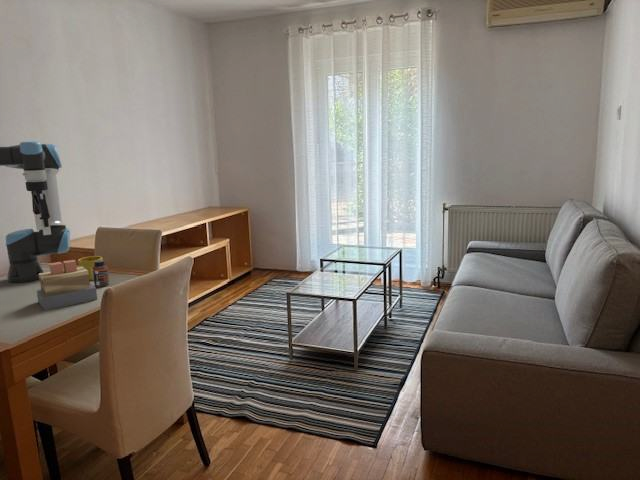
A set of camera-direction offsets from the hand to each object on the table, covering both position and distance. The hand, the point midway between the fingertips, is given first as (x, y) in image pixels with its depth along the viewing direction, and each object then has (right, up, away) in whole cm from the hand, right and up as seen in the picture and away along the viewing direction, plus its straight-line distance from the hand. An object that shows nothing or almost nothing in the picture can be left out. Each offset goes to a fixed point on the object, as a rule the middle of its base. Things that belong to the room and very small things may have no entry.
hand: (43, 232), depth 196 cm
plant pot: (+7, -22, +29) cm, 37 cm away
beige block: (+12, -23, -5) cm, 26 cm away
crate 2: (+13, -16, -4) cm, 21 cm away
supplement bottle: (+17, -24, +16) cm, 33 cm away
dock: (+12, -28, -4) cm, 31 cm away
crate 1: (+10, -16, -7) cm, 21 cm away
